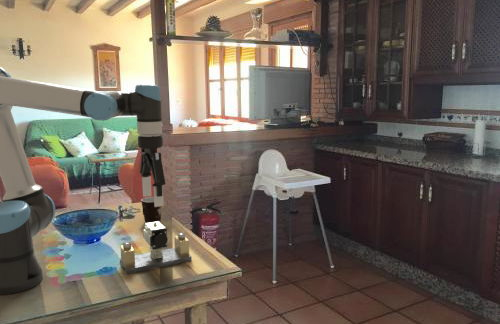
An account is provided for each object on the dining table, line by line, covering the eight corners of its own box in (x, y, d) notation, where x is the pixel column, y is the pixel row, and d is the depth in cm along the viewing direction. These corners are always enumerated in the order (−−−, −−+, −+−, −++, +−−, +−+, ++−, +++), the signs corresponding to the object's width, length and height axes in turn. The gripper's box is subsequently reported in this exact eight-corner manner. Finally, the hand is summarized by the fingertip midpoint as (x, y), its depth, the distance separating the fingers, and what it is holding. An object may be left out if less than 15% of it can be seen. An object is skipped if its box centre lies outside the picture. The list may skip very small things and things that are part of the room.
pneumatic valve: (158, 250, 147) (156, 216, 145) (169, 262, 137) (167, 226, 135) (142, 253, 145) (140, 218, 143) (152, 265, 135) (150, 229, 133)
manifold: (127, 274, 132) (125, 249, 131) (120, 262, 141) (118, 239, 140) (191, 260, 142) (190, 237, 141) (181, 250, 151) (180, 228, 149)
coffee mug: (154, 217, 187) (153, 195, 186) (167, 221, 182) (166, 199, 180) (132, 224, 179) (130, 201, 177) (144, 229, 173) (143, 205, 171)
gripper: (174, 138, 125) (176, 209, 129) (151, 130, 147) (153, 190, 150) (148, 140, 121) (152, 212, 125) (128, 131, 143) (131, 193, 147)
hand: (152, 200), depth 138 cm, fingers open, 13 cm apart
